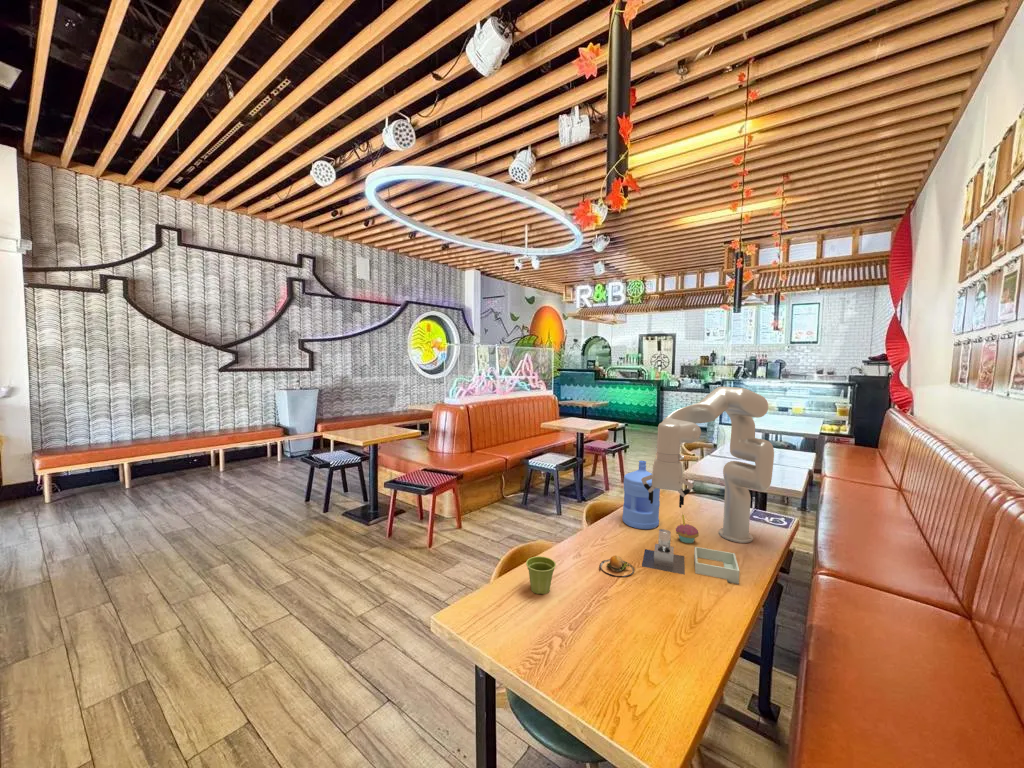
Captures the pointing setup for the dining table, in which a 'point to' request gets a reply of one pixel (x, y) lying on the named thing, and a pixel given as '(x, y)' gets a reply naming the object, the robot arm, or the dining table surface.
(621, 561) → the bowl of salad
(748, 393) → the robot arm
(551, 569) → the plant pot
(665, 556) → the grey piece
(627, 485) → the water jug
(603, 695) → the dining table surface
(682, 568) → the stud block
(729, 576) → the bin
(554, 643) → the dining table surface
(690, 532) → the cupcake
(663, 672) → the dining table surface
